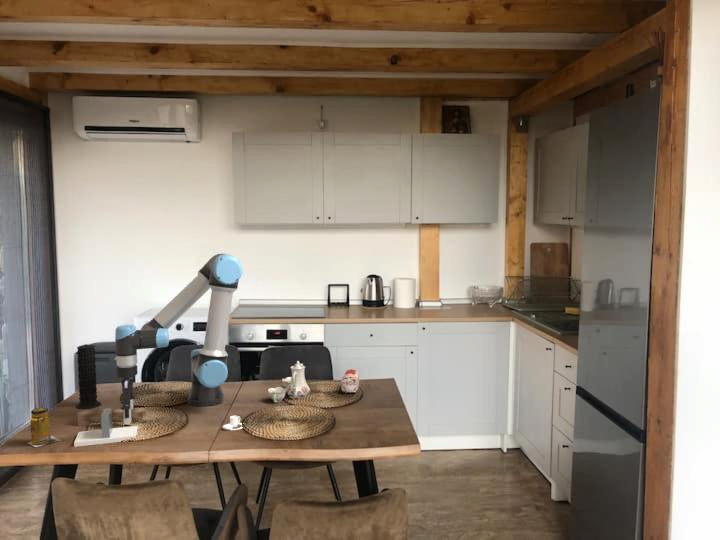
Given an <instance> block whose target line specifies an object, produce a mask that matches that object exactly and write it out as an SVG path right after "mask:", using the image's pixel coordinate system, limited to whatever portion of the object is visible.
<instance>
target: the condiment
mask: <svg viewBox="0 0 720 540" xmlns="http://www.w3.org/2000/svg"><path fill="white" fill-rule="evenodd" d="M30 415H31V417H30V421H29V422H30V437H31V438H30V440H31V441H28V442H27V444H29V445H30V446H32V447H35V448H39V447H42V446H45V445H49V444H52V443H55V442H56V443H57V442H59V441H60V439H59V438H56V437H54V435H52V434H51V417H50V414H49V408H48V407H36V408H33V409H32V410H31V411H30Z"/></svg>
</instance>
